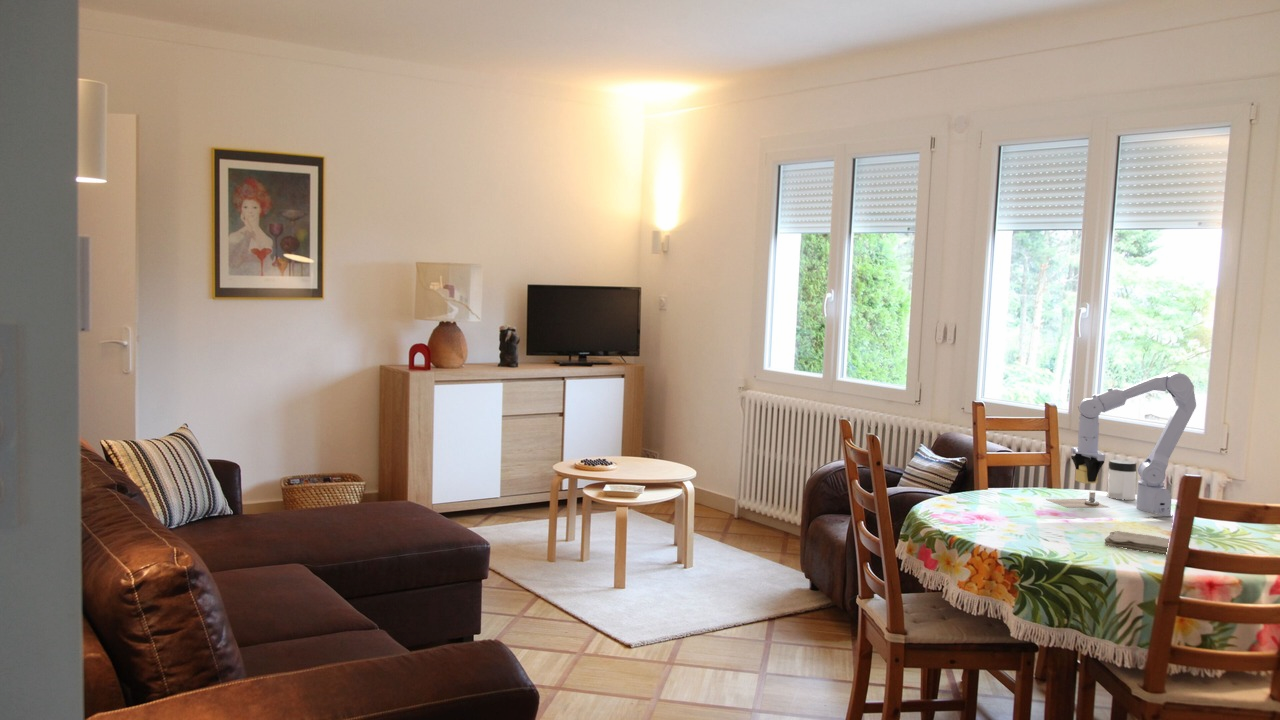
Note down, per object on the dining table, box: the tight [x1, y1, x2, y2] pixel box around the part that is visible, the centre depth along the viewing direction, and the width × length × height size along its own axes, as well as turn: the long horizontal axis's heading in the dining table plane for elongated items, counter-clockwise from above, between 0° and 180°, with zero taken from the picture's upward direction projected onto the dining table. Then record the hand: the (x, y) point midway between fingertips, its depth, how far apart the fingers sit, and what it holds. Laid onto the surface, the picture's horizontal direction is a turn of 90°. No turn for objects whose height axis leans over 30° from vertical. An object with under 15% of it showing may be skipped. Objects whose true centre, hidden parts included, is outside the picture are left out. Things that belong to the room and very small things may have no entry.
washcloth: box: [1104, 530, 1170, 556], centre depth 252 cm, size 12×18×3 cm, turn 55°
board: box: [1045, 498, 1109, 509], centre depth 300 cm, size 12×14×1 cm
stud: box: [1085, 491, 1100, 506], centre depth 299 cm, size 4×4×4 cm
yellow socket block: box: [1074, 464, 1099, 484], centre depth 298 cm, size 5×5×6 cm
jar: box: [1106, 459, 1138, 501], centre depth 315 cm, size 9×8×12 cm
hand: (1086, 479), depth 299 cm, fingers closed on yellow socket block, 5 cm apart
